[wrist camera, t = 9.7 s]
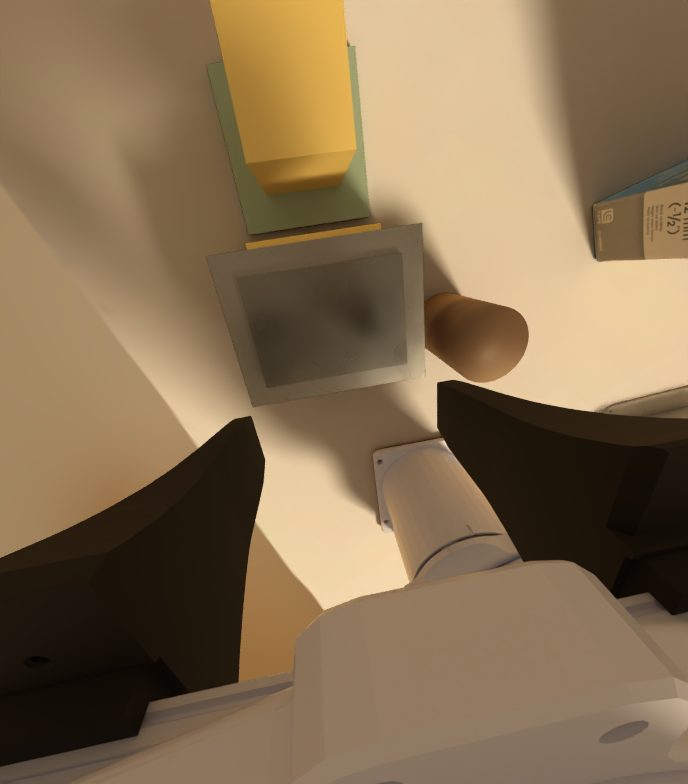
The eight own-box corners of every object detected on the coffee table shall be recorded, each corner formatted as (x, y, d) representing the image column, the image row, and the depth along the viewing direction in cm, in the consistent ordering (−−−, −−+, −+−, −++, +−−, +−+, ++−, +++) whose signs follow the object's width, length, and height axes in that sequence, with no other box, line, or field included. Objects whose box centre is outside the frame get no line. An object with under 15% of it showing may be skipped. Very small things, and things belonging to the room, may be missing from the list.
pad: (368, 217, 17) (370, 216, 17) (249, 235, 17) (248, 234, 16) (353, 51, 14) (355, 45, 14) (208, 69, 14) (205, 64, 13)
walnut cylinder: (468, 345, 21) (523, 375, 16) (415, 355, 21) (452, 388, 16) (471, 288, 20) (533, 300, 14) (413, 298, 19) (454, 313, 14)
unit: (394, 345, 21) (427, 378, 15) (267, 367, 20) (251, 409, 14) (386, 228, 17) (424, 213, 12) (236, 251, 17) (200, 247, 11)
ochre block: (339, 186, 16) (356, 149, 11) (267, 195, 16) (246, 163, 10) (328, 88, 14) (342, -16, 9) (246, 97, 14) (209, -3, 9)
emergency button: (612, 558, 28) (650, 431, 22) (575, 521, 32) (597, 404, 26) (704, 535, 28) (769, 401, 22) (655, 501, 32) (698, 379, 26)
